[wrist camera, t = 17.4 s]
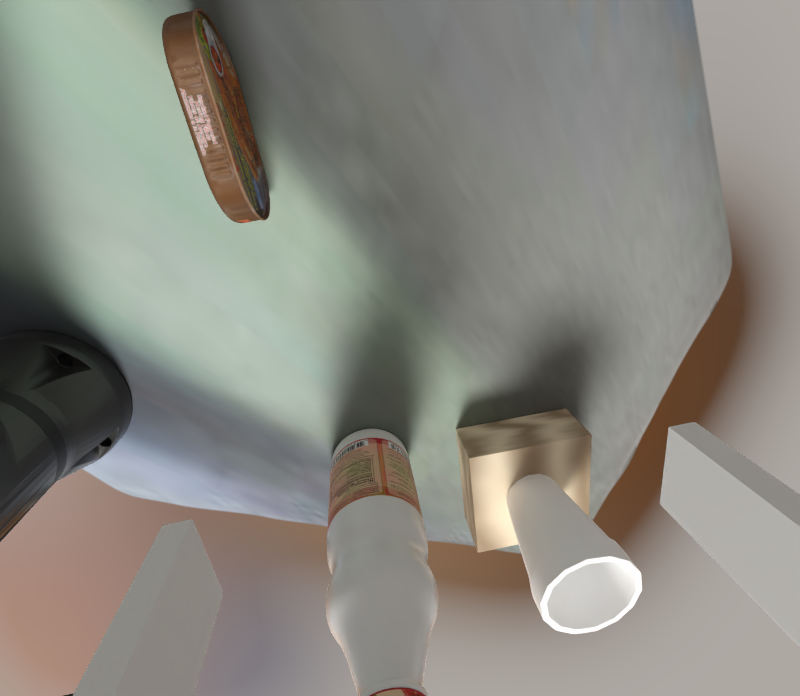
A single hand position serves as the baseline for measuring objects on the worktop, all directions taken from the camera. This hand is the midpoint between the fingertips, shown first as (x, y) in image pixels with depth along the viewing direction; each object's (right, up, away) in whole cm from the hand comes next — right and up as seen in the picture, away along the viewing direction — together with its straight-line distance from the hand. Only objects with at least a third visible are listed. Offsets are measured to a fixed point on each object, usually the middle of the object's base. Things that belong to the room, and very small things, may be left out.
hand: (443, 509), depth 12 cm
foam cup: (+14, -13, +38) cm, 43 cm away
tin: (-16, +24, +26) cm, 39 cm away
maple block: (+13, -11, +43) cm, 47 cm away
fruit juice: (-5, -9, +41) cm, 42 cm away
